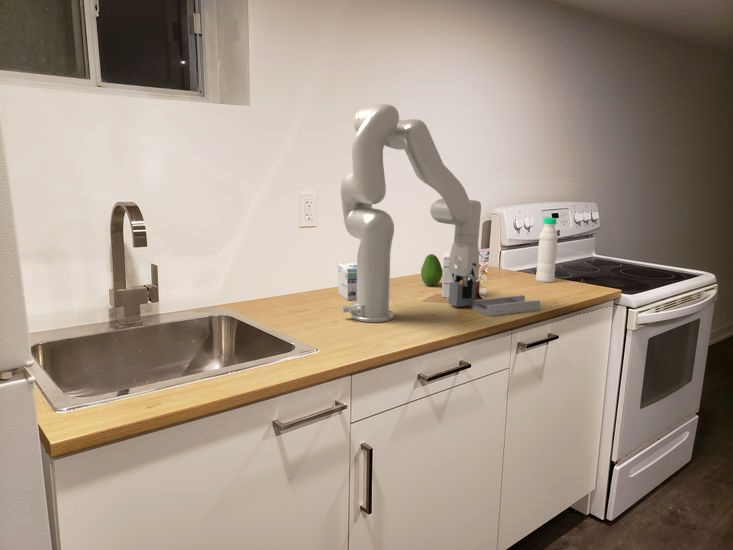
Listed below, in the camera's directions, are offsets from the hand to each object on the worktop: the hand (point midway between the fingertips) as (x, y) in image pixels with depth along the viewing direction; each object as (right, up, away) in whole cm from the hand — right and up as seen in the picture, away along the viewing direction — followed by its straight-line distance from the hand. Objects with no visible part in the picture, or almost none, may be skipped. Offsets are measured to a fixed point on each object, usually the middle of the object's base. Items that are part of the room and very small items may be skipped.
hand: (462, 296), depth 178 cm
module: (0, -3, +1) cm, 3 cm away
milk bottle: (+40, +4, +44) cm, 59 cm away
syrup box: (-2, -1, +14) cm, 14 cm away
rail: (+13, -4, -3) cm, 14 cm away
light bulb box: (-36, -1, +11) cm, 37 cm away
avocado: (-6, +3, +31) cm, 31 cm away
